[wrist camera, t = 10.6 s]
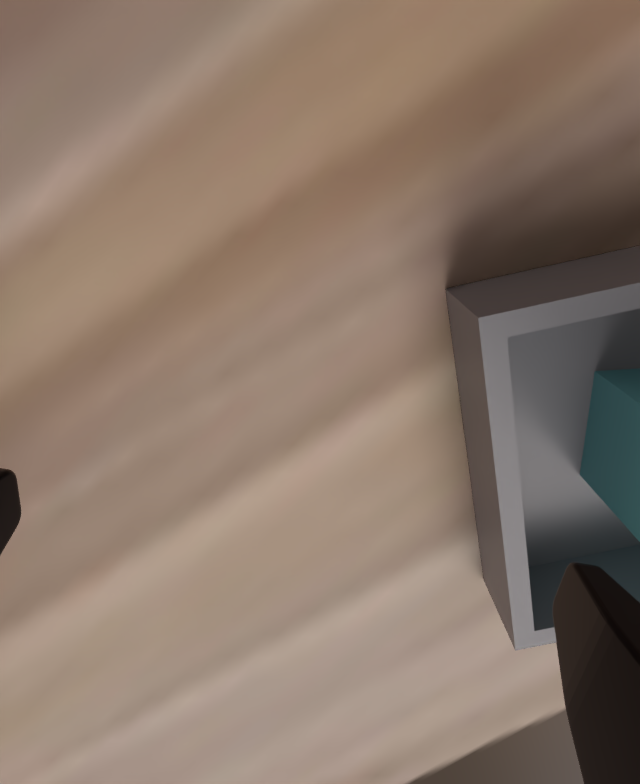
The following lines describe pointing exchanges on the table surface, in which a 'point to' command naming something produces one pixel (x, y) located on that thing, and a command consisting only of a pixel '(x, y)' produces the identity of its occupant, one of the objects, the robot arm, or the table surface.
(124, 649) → the table surface
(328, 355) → the table surface
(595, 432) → the handle block
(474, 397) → the box
